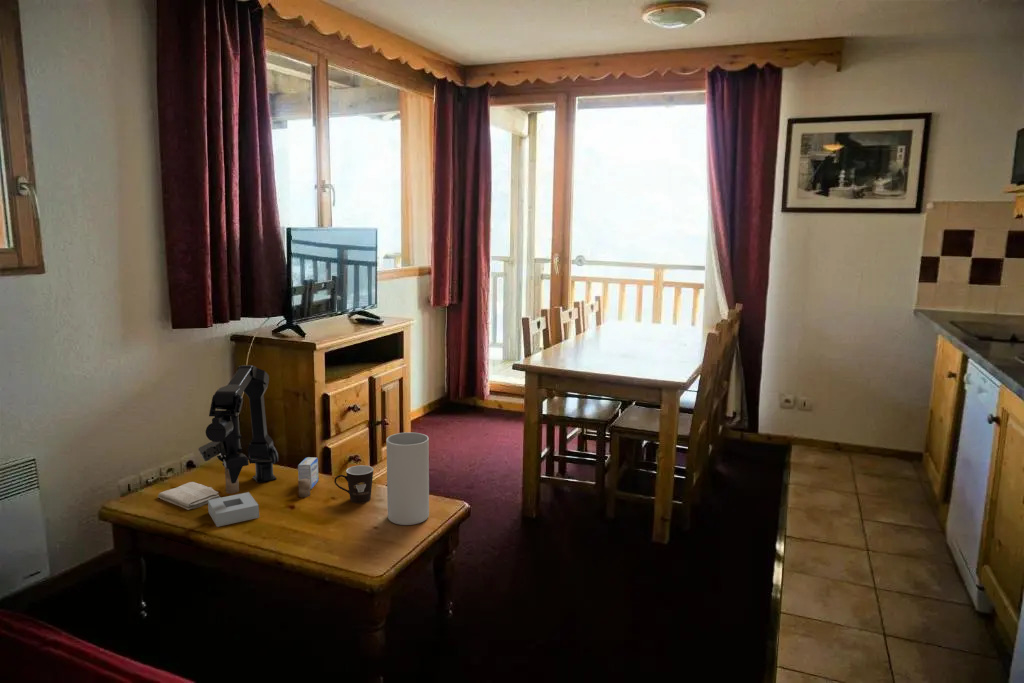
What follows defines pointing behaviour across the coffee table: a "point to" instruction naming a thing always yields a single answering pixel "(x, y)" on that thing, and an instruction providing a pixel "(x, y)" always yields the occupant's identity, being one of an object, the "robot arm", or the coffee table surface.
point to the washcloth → (189, 495)
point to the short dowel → (304, 487)
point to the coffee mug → (358, 483)
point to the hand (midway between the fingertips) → (232, 481)
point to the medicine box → (309, 470)
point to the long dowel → (229, 486)
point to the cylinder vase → (407, 478)
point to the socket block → (233, 509)
